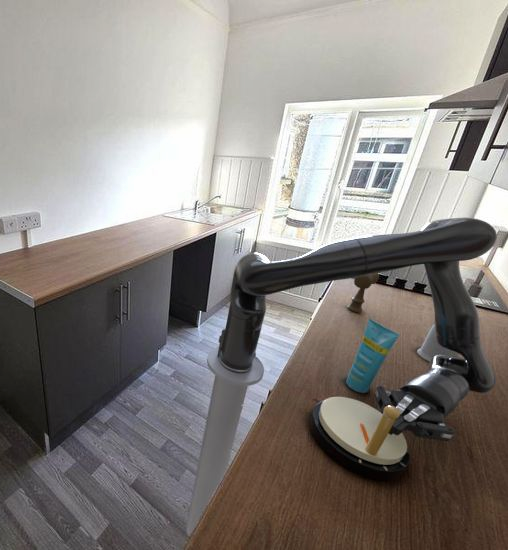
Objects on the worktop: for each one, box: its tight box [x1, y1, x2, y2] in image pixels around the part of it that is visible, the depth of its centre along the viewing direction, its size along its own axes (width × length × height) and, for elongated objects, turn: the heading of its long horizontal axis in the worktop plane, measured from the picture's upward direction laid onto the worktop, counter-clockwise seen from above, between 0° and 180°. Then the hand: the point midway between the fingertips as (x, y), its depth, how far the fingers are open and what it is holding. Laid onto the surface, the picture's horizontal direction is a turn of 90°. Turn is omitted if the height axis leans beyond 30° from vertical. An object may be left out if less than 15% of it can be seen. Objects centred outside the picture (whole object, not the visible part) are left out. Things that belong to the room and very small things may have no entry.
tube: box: [345, 317, 400, 394], centre depth 75 cm, size 7×5×19 cm, turn 19°
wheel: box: [319, 396, 408, 465], centre depth 60 cm, size 15×15×13 cm
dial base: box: [309, 399, 411, 483], centre depth 63 cm, size 17×17×3 cm
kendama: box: [347, 273, 380, 313], centre depth 115 cm, size 6×10×20 cm, turn 130°
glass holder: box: [416, 322, 460, 362], centre depth 90 cm, size 9×14×15 cm, turn 110°
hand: (388, 428), depth 53 cm, fingers closed
